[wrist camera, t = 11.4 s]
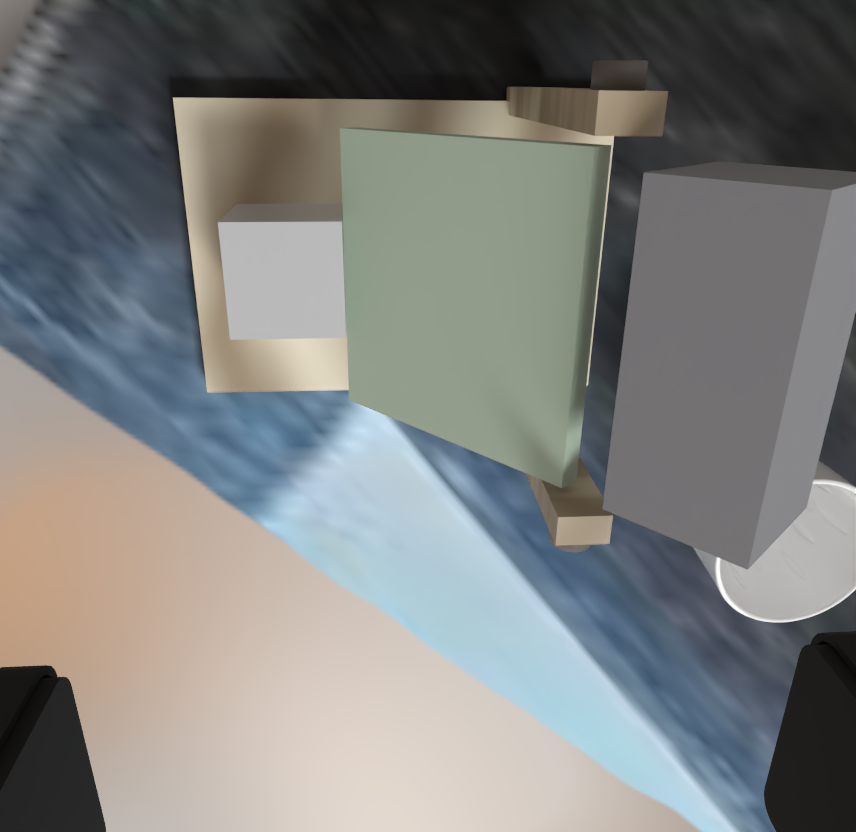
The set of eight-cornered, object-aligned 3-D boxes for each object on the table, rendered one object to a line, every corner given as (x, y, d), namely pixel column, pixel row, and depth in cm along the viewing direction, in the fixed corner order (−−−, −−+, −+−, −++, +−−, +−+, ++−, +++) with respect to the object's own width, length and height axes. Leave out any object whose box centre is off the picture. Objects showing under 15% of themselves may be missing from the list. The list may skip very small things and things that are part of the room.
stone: (341, 221, 31) (217, 222, 30) (346, 337, 33) (230, 339, 32) (344, 203, 35) (236, 203, 35) (348, 306, 37) (246, 307, 37)
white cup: (621, 498, 44) (687, 605, 35) (677, 378, 42) (764, 461, 32) (737, 526, 46) (830, 636, 37) (799, 412, 43) (916, 501, 34)
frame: (614, 69, 35) (775, 61, 21) (580, 402, 42) (685, 559, 28) (173, 63, 33) (41, 50, 20) (213, 409, 40) (135, 578, 27)
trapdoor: (894, 156, 21) (837, 168, 18) (803, 520, 26) (744, 583, 23) (409, 125, 33) (320, 128, 30) (408, 378, 38) (332, 405, 35)
